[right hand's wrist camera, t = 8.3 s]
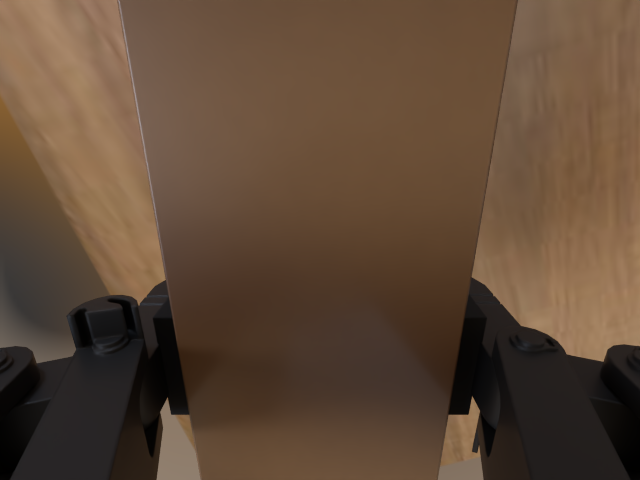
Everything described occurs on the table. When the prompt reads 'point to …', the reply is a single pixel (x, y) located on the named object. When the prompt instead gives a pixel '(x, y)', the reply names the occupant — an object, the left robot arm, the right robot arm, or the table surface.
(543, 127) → the table surface
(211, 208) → the beam
